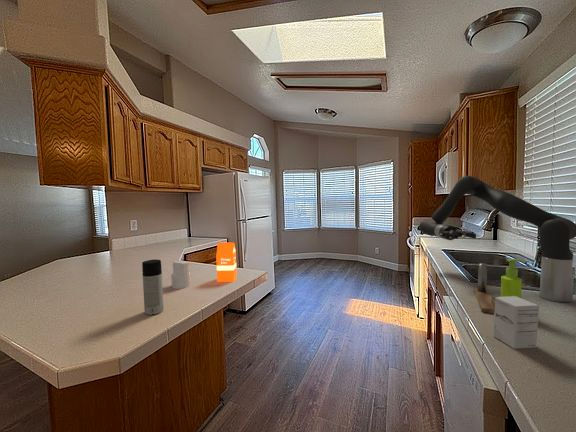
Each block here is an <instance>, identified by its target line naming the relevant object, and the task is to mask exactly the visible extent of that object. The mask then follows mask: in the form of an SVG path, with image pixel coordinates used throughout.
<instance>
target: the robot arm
mask: <svg viewBox="0 0 576 432" xmlns="http://www.w3.org/2000/svg"><path fill="white" fill-rule="evenodd" d="M465 195H469V196H473V197H475V198H478V199H480V200H482V201H485V202H486V203H487V204H488V205H490V206H491V207H492V208H493V209H494V210H496V211H498V212H499V213H501V214H504V215H505V216H507V217H510V218H512V219H515V220H518V221H522V222H525V223H529V224H531V225H534V226H536V227H537V228H539V231H540V232H539V248H540V251H541V261H540V263H541V264H540V265H541V267H540V283H539V284H540V285H539V297H541V298H543V299H545V300H547V301H548V300H549V301H553V302H559V303H573V301H574V299H573V298H574V285H575V280H574V278H573V264H574V263H573V262H574V252H572V251H571V248H570V241H571V240H572V239H575V238H576V223H575V222H574V221H572V220H570V219H568V218H565V217H563V216H560V215H557V214H554V213H552V212H549V211H547V210H544V209H542V208H539V207H538V206H536V205H535V204H533V203H530V202H529V201H526V200H524V199H523V198H520V197H519V196H516V195H514V194H512V193H510V192H507V191H504V190H500V189H499V188H498V189H497V188H495V187H492V186H490V185H489V184H487V183H486V182H484V181H483V180H482V179H479V178H477V177H474V176H473V175H463V176H461V177H460V178H459V179H458V180H457V181H456V183H455V184H454V186H453V187H452V189H451V191H449V194H448V195H447V197H446V198H445V199H444V201H443V202H442V203H441V205H440V206H439V207H438V208H437V209H436V211H434V213H432V215H431V219H432V220H433V221H434V222H433V221H430V220H423V221H421V222H420V223H419V226H418V229H419V230H420V232H422V233H424V234H426V235H428V236H430V237H438V238H439V239H443V240H446V241H454V240H455V239H456V240H458V239H460V238H461V239H466V238H468V239H469V238H470V239H477V234H476V233H475V232H474V231H468V230H460V229H457V227H456V226H455V225H448V224H444V222H445V221H446V220H447V219H448V218H449V217H450V216H451V215H452V214H453V212H454V210H455V207H456V205H457V203H458V202H459V201H460V199H461V198H463V196H465Z"/></svg>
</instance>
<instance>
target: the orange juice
mask: <svg viewBox="0 0 576 432" xmlns="http://www.w3.org/2000/svg"><path fill="white" fill-rule="evenodd" d="M215 255H216V259H215V261H216V282H217V283H224V282H225V283H227V282H229V283H233V282H235V281H236V279H237V278H238V277H237V273H238V271H237V250H236V246H235V242H217V248H216V254H215Z"/></svg>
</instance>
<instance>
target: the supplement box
mask: <svg viewBox="0 0 576 432" xmlns="http://www.w3.org/2000/svg"><path fill="white" fill-rule="evenodd" d="M494 300H495V314H494V318H493V322H494V323H493V337H494V338H496V339H498V340H499V341H501V342H503V343H504V344H506V345H508V346H509V347H511V348H513V349H514V350H517V349H533V348H534V349H535V348H537V343H538V330H539V329H538V327H539V313H540V312H539V311H540V305H539V304H536V303H533V302H531V301H529V300H526V299H524V298H522V297H521V298H519V297H516V296H509V297H501V296H496V297H495V299H494Z"/></svg>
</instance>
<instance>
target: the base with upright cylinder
mask: <svg viewBox="0 0 576 432" xmlns="http://www.w3.org/2000/svg"><path fill="white" fill-rule="evenodd" d="M477 271H478V272H477V273H478V276H477V279H478V280H477V287H473V292H474V295H475V298H476V300H477V302H478V306H479V307H480V311H481V312H482V313H488V314H494V315H495V299H494V298H493V297H492V295H491V293H490V292H489V289H487V278H488V263H481V262H479V263H478V270H477Z"/></svg>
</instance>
